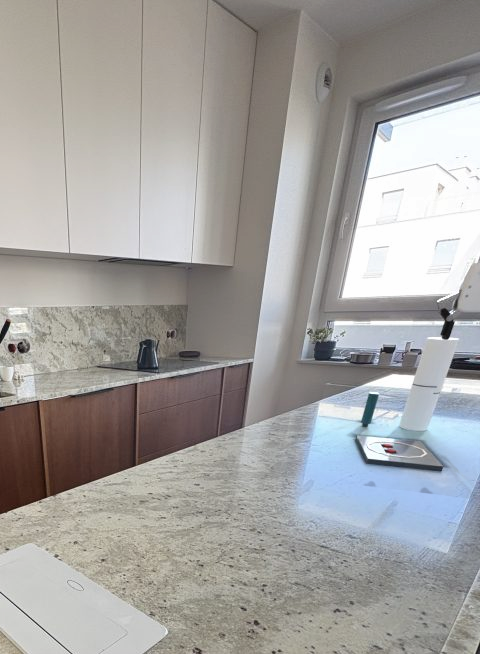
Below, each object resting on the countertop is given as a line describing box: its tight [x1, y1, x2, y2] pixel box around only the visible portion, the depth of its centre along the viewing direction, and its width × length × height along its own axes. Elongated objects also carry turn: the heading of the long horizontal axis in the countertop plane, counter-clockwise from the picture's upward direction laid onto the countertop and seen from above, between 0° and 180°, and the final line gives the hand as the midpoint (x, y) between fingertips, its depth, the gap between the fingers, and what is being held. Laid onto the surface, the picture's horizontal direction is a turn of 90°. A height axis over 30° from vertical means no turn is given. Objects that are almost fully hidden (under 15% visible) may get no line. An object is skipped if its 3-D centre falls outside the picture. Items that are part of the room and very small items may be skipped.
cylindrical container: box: [398, 336, 460, 432], centre depth 121 cm, size 7×7×25 cm
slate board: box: [355, 435, 444, 472], centre depth 106 cm, size 15×20×1 cm
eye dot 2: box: [386, 449, 395, 453], centre depth 105 cm, size 2×2×1 cm
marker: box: [360, 391, 380, 428], centre depth 127 cm, size 3×3×10 cm
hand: (469, 339), depth 99 cm, fingers open, 9 cm apart
